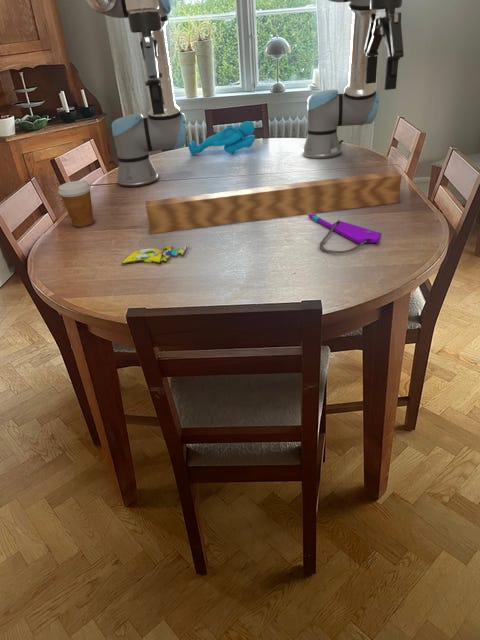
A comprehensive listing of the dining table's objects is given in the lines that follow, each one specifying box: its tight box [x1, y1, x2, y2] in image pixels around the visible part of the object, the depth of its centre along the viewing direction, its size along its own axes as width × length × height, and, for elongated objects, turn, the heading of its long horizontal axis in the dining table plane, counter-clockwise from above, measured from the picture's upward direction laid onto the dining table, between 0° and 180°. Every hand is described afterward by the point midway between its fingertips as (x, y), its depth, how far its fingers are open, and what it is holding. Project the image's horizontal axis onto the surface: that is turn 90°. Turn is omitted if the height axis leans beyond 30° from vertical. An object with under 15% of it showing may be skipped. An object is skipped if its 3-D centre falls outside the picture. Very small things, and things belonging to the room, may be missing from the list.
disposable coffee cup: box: [58, 180, 95, 228], centre depth 147 cm, size 10×10×12 cm
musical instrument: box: [307, 213, 382, 254], centre depth 126 cm, size 24×2×20 cm
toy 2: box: [187, 120, 256, 156], centre depth 208 cm, size 17×11×30 cm
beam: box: [145, 170, 402, 235], centre depth 141 cm, size 74×4×8 cm, turn 98°
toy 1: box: [121, 245, 188, 265], centre depth 125 cm, size 10×1×15 cm
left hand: (159, 109), depth 123 cm, fingers open, 13 cm apart
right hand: (379, 86), depth 128 cm, fingers open, 13 cm apart
